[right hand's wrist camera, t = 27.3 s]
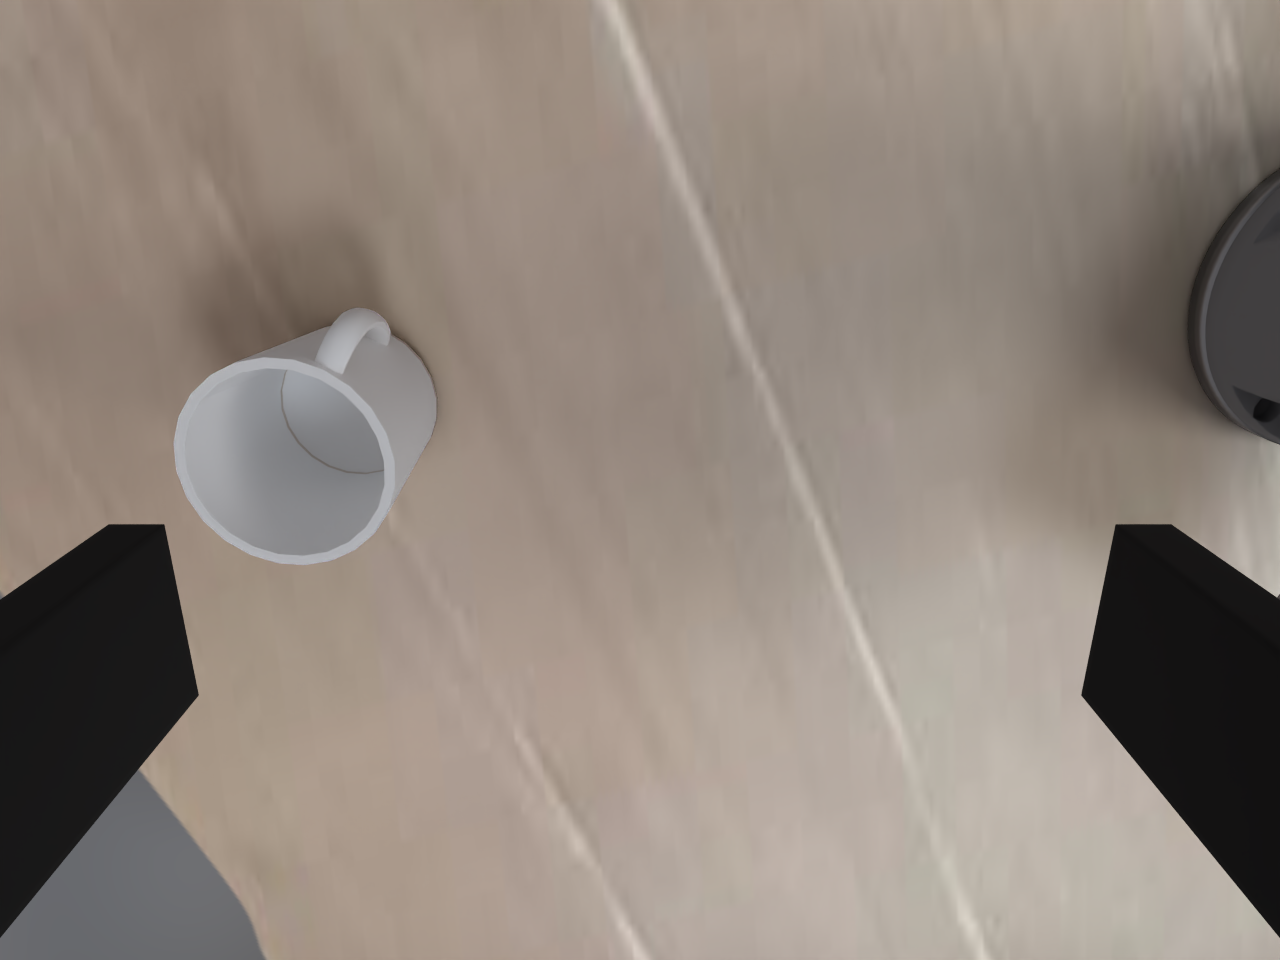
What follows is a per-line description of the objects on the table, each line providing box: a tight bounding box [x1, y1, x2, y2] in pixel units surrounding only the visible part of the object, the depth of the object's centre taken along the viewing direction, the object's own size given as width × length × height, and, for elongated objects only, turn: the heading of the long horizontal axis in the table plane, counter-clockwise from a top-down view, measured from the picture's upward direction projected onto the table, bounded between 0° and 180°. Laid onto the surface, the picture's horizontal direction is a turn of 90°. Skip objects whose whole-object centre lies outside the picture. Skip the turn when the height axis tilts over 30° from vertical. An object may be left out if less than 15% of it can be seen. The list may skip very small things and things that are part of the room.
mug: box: [174, 307, 437, 565], centre depth 40 cm, size 11×9×10 cm
